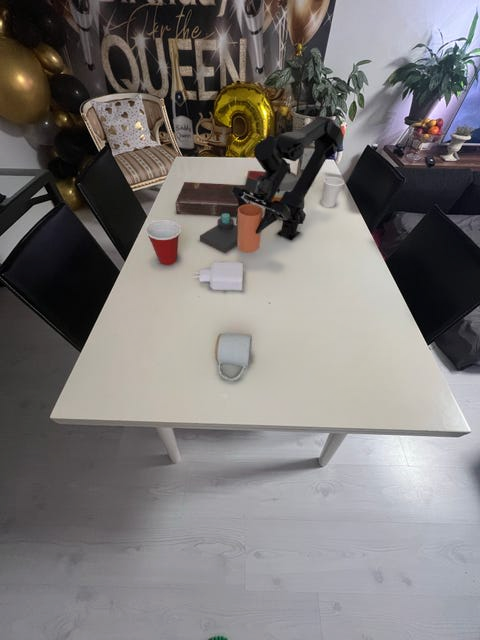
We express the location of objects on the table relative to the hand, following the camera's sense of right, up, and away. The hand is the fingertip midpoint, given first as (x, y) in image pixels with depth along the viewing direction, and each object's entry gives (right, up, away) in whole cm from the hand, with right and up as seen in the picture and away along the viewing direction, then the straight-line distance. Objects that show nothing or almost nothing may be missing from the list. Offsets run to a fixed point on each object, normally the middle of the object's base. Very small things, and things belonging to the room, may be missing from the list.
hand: (246, 228), depth 89 cm
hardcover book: (+12, +36, +52) cm, 65 cm away
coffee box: (+29, +40, +56) cm, 75 cm away
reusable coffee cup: (+13, +16, +34) cm, 40 cm away
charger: (-9, -15, +4) cm, 18 cm away
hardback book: (-12, +21, +38) cm, 45 cm away
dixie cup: (+36, +23, +41) cm, 59 cm away
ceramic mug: (-3, -38, -16) cm, 41 cm away
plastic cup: (-26, -7, +11) cm, 29 cm away
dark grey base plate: (-7, +2, +20) cm, 22 cm away
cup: (+1, -4, +6) cm, 7 cm away
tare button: (-7, +9, +21) cm, 24 cm away
